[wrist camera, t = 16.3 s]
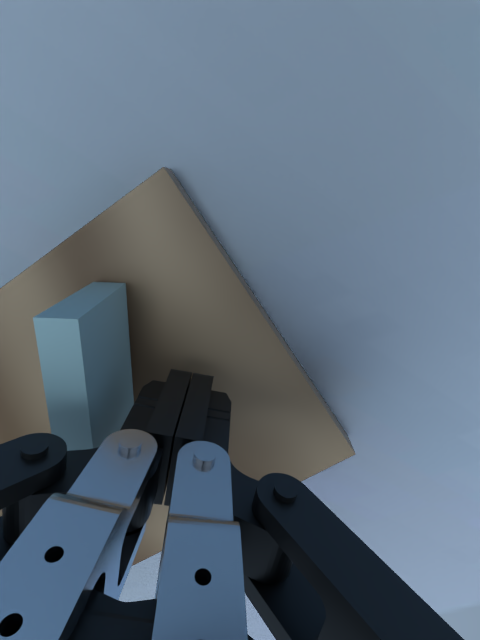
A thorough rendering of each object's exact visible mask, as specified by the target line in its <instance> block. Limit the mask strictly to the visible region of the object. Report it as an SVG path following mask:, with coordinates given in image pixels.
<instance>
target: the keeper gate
mask: <svg viewBox="0 0 480 640" xmlns="http://www.w3.org/2000/svg"><path fill="white" fill-rule="evenodd" d="M33 322H34V328H35V334H36V340H37V347H38V353H39V359H40V366H41V372H42V378H43V384H44V391H45V397H46V403H47V409H48V416H49V422H50V428H51V434H54V435H57V436H59V437H61V438H62V439H63V440H64V441H65V442H66V445H67V451H71V450H86V449H93V448H97V447H100V445H101V444H102V442H103V441H104V440H105V439H106V437H108V436H109V435H110V434H112V433H114V432H116V431H120V429H121V427H122V425H123V423H124V422H125V420H126V418H127V416H128V414H129V412H130V410H131V408H132V406H133V405H134V397H133V382H132V368H131V354H130V339H129V325H128V310H127V296H126V283H111V282H92V283H91V284H89V285H87V286H86V287H84V288H82V289H80V290H79V291H77V292H75V293H74V294H72V295H70V296H69V297H67V298H65V299H64V300H62V301H60V302H58V303H57V304H55V305H53V306H52V307H50V308H48V309H47V310H45V311H43V312H41V313H40V314H38V315H36V316H35V317H33Z"/></svg>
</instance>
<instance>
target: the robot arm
mask: <svg viewBox="0 0 480 640" xmlns="http://www.w3.org/2000/svg"><path fill="white" fill-rule="evenodd" d="M191 377H192V379H191ZM213 378H214V376H210V375H204V374H199V373H193V376H192V372H187V371H182V370H176V369H171V370H170V373H169V375H168V377H167V380H166V382H162V381H156V380H152V381H151V382H149V383H148V384H146V385H145V386H143V387H142V389H141V391H140V393H139V395H138V398H137V399H136V401H135V402H134V405H133V406H132V408H131V410H130V412H129V414H128V416H127V418H126V420H125V422H124V423H123V425H122V427H121V429H120V431H116V432H114V433H112V434H110V435H109V436H108V437H106V439H105V440H104V441H103V442H102V444H101V445H100V447H97V448H93V449H86V450H71V451H67V445H66V442H65V441H64V440H63V439H62V438H61V437H59V436H57V435H54V434H50V433H33V434H28V435H25V436H21V437H19V438H16V439H13V440H11V441H8V442H5V443H2V444H0V510H1V509H2V516H1V517H0V640H254V639H253V638H251V637H250V636H249V635H248V634H247V619H246V605H245V594H246V595H247V597H248V598H249V600H250V601H251V603H252V604H253V606H254V607H255V609H256V610H257V612H258V613H259V615H260V616H261V618H262V619H263V621H264V622H265V624H266V625H267V627H268V628H269V630H270V631H271V633H272V634H273V636H274V637H275V639H276V640H464V639H463V638H462V637H461V636H460V635H459V634H458V633H457V632H455V630H454V629H453V628H451V627H450V626H449V625H448V624H447V623H446V622H445V621H444V620H443V619H442V618H441V617H440V616H439V615H438V614H437V613H436V612H435V611H434V610H433V609H432V608H431V607H430V606H429V605H428V604H427V603H426V602H425V601H424V600H423V599H422V598H421V597H420V596H418V595H417V594H416V593H415V592H414V591H413V590H412V589H411V588H410V587H409V586H408V585H407V584H406V583H405V582H404V581H403V580H402V579H401V578H400V577H399V576H398V575H397V574H396V573H395V572H394V571H393V570H392V569H391V568H390V567H389V566H388V565H387V564H385V563H384V562H383V561H382V560H381V559H380V558H379V557H378V556H377V555H376V554H375V553H374V552H373V551H372V550H371V549H370V548H369V547H368V546H367V545H366V544H365V543H364V542H363V541H362V540H361V539H360V538H359V537H358V536H357V535H356V534H355V533H353V532H352V531H351V530H350V529H349V528H348V527H347V526H346V525H345V524H344V523H343V522H342V521H341V520H340V519H339V518H338V517H337V516H336V515H335V514H334V513H333V512H332V511H331V510H330V509H329V508H328V507H327V506H326V505H325V504H324V503H323V502H321V501H320V500H319V499H318V498H317V497H316V496H315V495H314V494H313V493H312V492H311V491H310V490H309V489H308V488H307V487H306V486H305V485H304V484H303V483H302V482H300V481H299V480H298V479H296V478H294V477H292V476H290V475H287V474H283V473H270V474H267V475H265V476H263V477H262V478H261V479H260V480H259V481H258V480H255V479H253V478H251V477H248V476H246V475H244V474H243V473H241V472H240V471H239V470H237V469H236V468H235V467H234V465H233V464H232V463H231V461H230V458H229V455H228V449H229V433H230V418H231V403H232V402H231V400H230V399H229V397H228V395H227V393H224V392H219V391H213V390H211V389H212V383H213ZM166 487H167V489H166ZM165 491H166V495H165ZM164 495H165V502H164V505H166V506H169V510H168V516H167V521H166V527H165V533H164V540H163V547H162V553H161V560H160V567H159V573H158V580H157V587H156V593H155V599H151V600H143V601H136V602H121V601H118V600H119V597H120V594H121V592H122V589H123V586H124V584H125V581H126V579H127V576H128V573H129V571H130V568H131V566H132V563H133V561H134V558H135V555H136V553H137V550H138V548H139V545H140V542H141V540H142V537H143V535H144V532H145V529H146V524H147V520H148V519H149V516H150V513H151V510H152V507H153V504H158V505H162V502H163V499H164Z"/></svg>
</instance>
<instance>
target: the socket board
mask: <svg viewBox="0 0 480 640" xmlns="http://www.w3.org/2000/svg"><path fill="white" fill-rule="evenodd" d="M92 282H111V283H126V296H127V310H128V325H129V339H130V354H131V368H132V382H133V397H134V402H135V401H136V399H137V398H138V395H139V393H140V391H141V389H142V387H143V386H145V385H146V384H148V383H149V382H151V381H152V380H156V381H162V382H166V380H167V377H168V375H169V373H170V370H171V369H176V370H182V371H187V372H192V376H193V373H199V374H204V375H210V376H214V378H213V383H212V389H211V390H213V391H219V392H224V393H227V395H228V397H229V399H230V400H231V402H232V403H231V418H230V433H229V449H228V455H229V458H230V461H231V463H232V464H233V465H234V467H235V468H236V469H237V470H239V471H240V472H241V473H243V474H244V475H246V476H248V477H251V478H253V479H255V480H258V481H259V480H260V479H261V478H262V477H263V476H265V475H267V474H270V473H283V474H287V475H290V476H292V477H294V478H296V479H298V480H299V481H300V482H301V481H303V480H305V479H307V478H309V477H311V476H313V475H315V474H317V473H319V472H321V471H323V470H325V469H327V468H329V467H331V466H333V465H335V464H337V463H339V462H341V461H343V460H345V459H347V458H349V457H351V456H353V455H355V452H354V449H353V447H352V445H351V442H350V440H349V438H348V436H347V434H346V433H345V431H344V430H343V428H342V426H341V425H340V423H339V422H338V420H337V419H336V417H335V416H334V414H333V413H332V411H331V410H330V408H329V407H328V405H327V404H326V402H325V401H324V399H323V398H322V396H321V395H320V393H319V392H318V390H317V389H316V387H315V386H314V384H313V383H312V381H311V380H310V378H309V377H308V375H307V374H306V372H305V371H304V369H303V368H302V366H301V365H300V363H299V362H298V360H297V359H296V357H295V356H294V354H293V353H292V351H291V350H290V348H289V347H288V345H287V344H286V342H285V341H284V339H283V338H282V336H281V335H280V333H279V332H278V330H277V329H276V327H275V326H274V324H273V323H272V321H271V320H270V318H269V317H268V315H267V314H266V312H265V311H264V309H263V308H262V306H261V305H260V303H259V302H258V300H257V298H256V297H255V295H254V294H253V292H252V291H251V289H250V288H249V286H248V285H247V283H246V282H245V280H244V279H243V277H242V276H241V274H240V273H239V271H238V270H237V268H236V267H235V265H234V264H233V262H232V261H231V259H230V258H229V256H228V255H227V253H226V252H225V250H224V249H223V247H222V246H221V244H220V243H219V241H218V240H217V238H216V237H215V235H214V234H213V232H212V231H211V229H210V228H209V226H208V225H207V223H206V222H205V220H204V219H203V217H202V216H201V214H200V213H199V211H198V210H197V208H196V207H195V205H194V204H193V202H192V201H191V199H190V198H189V196H188V195H187V193H186V192H185V190H184V189H183V187H182V186H181V184H180V183H179V181H178V180H177V178H176V177H175V175H174V174H173V172H172V170H171V169H168V168H165V167H163V168H161V169H160V170H159V171H157V172H156V173H155V174H153V175H152V176H151V177H149V178H148V179H147V180H145V181H144V182H142V183H141V184H140V185H138V186H137V187H136V188H134V189H133V190H132V191H130V192H129V193H128V194H126V195H125V196H124V197H122V198H121V199H120V200H118V201H117V202H116V203H114V204H113V205H112V206H110V207H109V208H108V209H106V210H105V211H104V212H102V213H101V214H100V215H98V216H97V217H96V218H94V219H93V220H92V221H90V222H89V223H87V224H86V225H85V226H83V227H82V228H81V229H79V230H78V231H77V232H75V233H74V234H73V235H71V236H70V237H69V238H67V239H66V240H65V241H63V242H62V243H61V244H59V245H58V246H57V247H55V248H54V249H53V250H51V251H50V252H49V253H47V254H46V255H45V256H43V257H42V258H41V259H39V260H38V261H36V262H35V263H34V264H32V265H31V266H30V267H28V268H27V269H26V270H24V271H23V272H22V273H20V274H19V275H18V276H16V277H15V278H14V279H12V280H11V281H10V282H8V283H7V284H6V285H4V286H3V287H2V288H0V444H2V443H5V442H8V441H11V440H13V439H16V438H19V437H21V436H25V435H28V434H33V433H50V434H51V428H50V422H49V416H48V409H47V403H46V397H45V391H44V384H43V378H42V372H41V366H40V359H39V353H38V347H37V340H36V334H35V328H34V322H33V317H35V316H36V315H38V314H40V313H41V312H43V311H45V310H47V309H48V308H50V307H52V306H53V305H55V304H57V303H58V302H60V301H62V300H64V299H65V298H67V297H69V296H70V295H72V294H74V293H75V292H77V291H79V290H80V289H82V288H84V287H86V286H87V285H89V284H91V283H92ZM191 379H192V377H191ZM166 489H167V487H166ZM165 495H166V491H165ZM165 495H164V499H163V502H162V505H158V504H153V507H152V510H151V513H150V516H149V519H148V520H147V524H146V529H145V532H144V535H143V537H142V540H141V542H140V545H139V548H138V550H137V553H136V555H135V558H134V561H133V563H132V566H133V565H135V564H137V563H139V562H141V561H143V560H145V559H147V558H149V557H151V556H153V555H155V554H157V553H159V552H161V551H162V547H163V540H164V533H165V527H166V521H167V516H168V510H169V506H166V505H164V502H165ZM1 516H2V509H1V510H0V517H1Z"/></svg>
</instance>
